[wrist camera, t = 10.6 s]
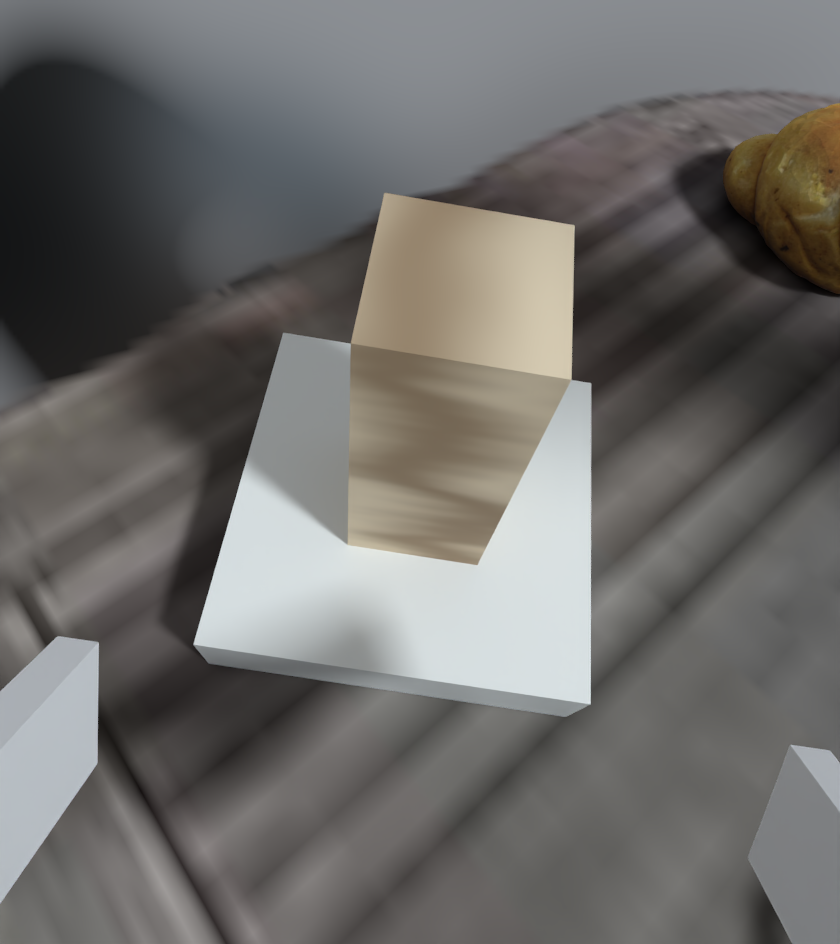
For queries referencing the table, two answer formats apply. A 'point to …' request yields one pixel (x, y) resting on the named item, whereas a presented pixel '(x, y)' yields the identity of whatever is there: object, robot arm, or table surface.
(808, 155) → the bread roll
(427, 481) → the beech block
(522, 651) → the stone tile base
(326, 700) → the table surface
